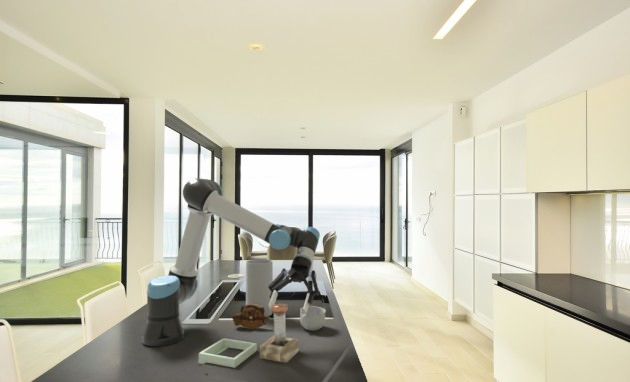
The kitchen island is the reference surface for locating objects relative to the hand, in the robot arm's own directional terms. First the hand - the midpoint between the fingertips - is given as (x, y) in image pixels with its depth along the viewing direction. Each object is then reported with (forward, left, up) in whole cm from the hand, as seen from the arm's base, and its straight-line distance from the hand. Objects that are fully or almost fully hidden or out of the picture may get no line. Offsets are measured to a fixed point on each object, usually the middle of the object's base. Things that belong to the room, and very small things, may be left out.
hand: (287, 309), depth 132 cm
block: (0, -6, -15) cm, 16 cm away
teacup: (0, +23, -15) cm, 28 cm away
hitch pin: (0, -6, -14) cm, 15 cm away
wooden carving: (-24, +15, -15) cm, 32 cm away
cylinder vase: (-30, +33, -15) cm, 47 cm away
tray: (-16, -13, -15) cm, 25 cm away
